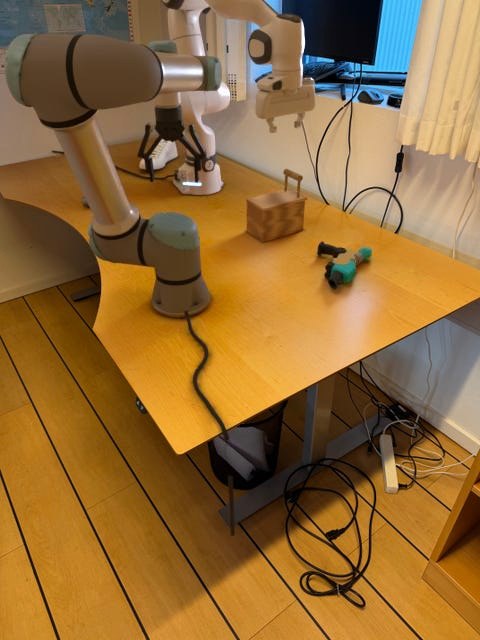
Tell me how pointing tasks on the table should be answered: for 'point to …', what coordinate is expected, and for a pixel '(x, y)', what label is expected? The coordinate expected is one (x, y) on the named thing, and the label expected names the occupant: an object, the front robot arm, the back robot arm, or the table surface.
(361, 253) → the toy gun
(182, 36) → the back robot arm
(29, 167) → the table surface
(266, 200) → the lid
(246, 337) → the table surface
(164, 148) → the sneaker
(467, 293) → the table surface
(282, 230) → the chest
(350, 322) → the table surface
